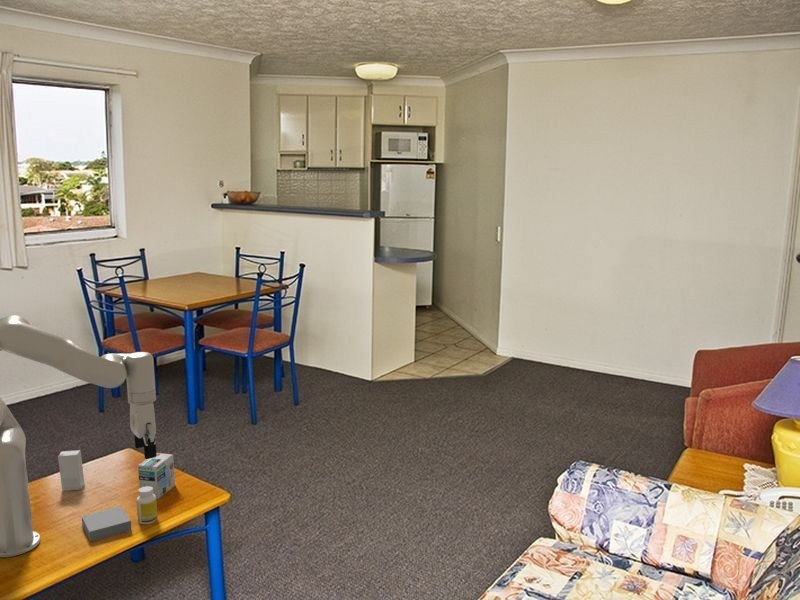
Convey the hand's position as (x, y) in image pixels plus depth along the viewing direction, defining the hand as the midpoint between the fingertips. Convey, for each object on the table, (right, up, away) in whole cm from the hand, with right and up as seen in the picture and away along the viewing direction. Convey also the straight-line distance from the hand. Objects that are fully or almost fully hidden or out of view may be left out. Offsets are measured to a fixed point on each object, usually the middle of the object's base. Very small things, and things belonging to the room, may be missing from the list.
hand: (145, 452), depth 205 cm
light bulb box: (-4, -17, +22) cm, 28 cm away
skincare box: (-32, -17, +24) cm, 44 cm away
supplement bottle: (0, -21, +3) cm, 21 cm away
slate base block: (-11, -21, -2) cm, 24 cm away
